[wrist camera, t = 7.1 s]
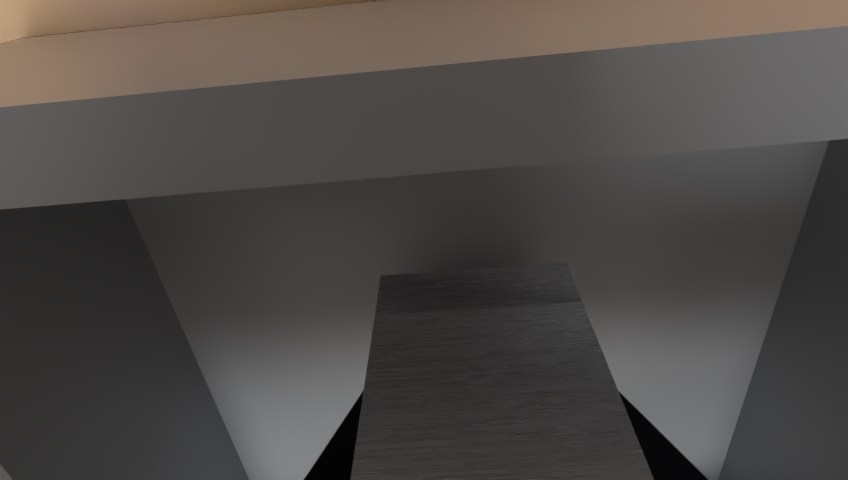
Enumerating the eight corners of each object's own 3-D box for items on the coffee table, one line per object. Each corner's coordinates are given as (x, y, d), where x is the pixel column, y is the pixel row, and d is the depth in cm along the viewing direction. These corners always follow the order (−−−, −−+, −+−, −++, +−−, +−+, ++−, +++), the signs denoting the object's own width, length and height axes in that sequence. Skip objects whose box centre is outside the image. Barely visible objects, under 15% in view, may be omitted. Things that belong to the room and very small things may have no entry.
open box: (925, -57, 9) (1522, -40, 4) (733, 484, 16) (855, 708, 12) (23, 38, 10) (-373, 142, 5) (244, 506, 17) (174, 722, 13)
